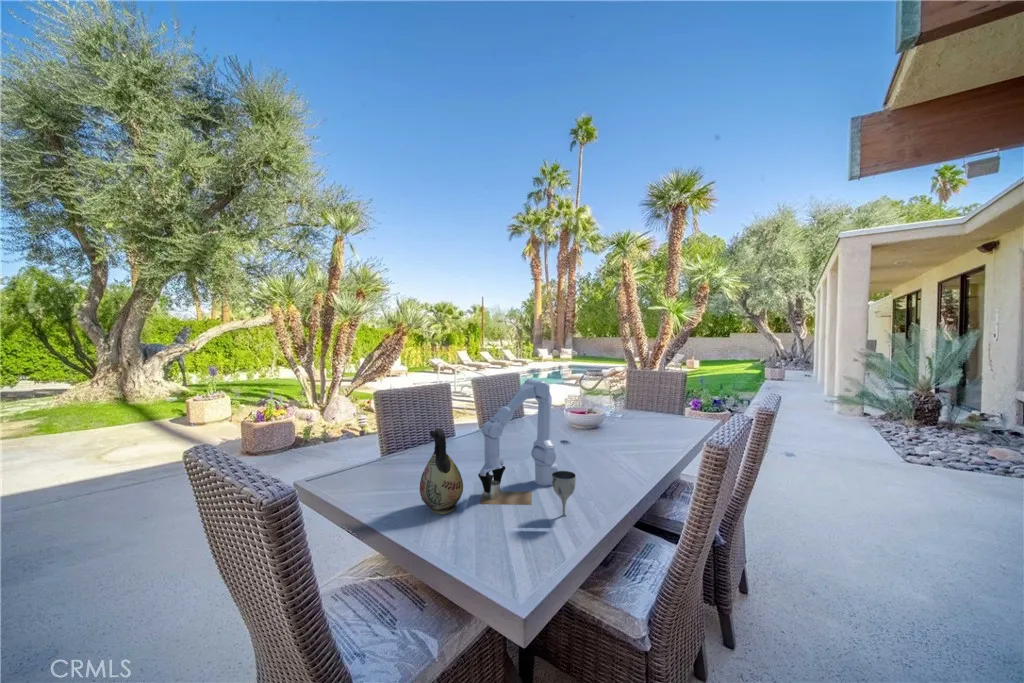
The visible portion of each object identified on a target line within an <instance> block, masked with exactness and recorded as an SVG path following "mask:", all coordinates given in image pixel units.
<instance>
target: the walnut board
mask: <svg viewBox="0 0 1024 683" xmlns="http://www.w3.org/2000/svg"><path fill="white" fill-rule="evenodd" d="M532 496H533V492H532V491H526V490H525V491H523V490H522V491H518V490H517V491H514V490H513V491H511V490H509V491H508V490H507V491H506V490H500V497H499V498H496V499H489V498H486V497H485V492H484V490H483V491H482V494H481V497H480V501H479V505H504V506H505V505H508V506H509V505H510V506H513V505H514V506H516V505H519V506H532V504H533V503H532V502H533V497H532Z"/></svg>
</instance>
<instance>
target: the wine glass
mask: <svg viewBox="0 0 1024 683" xmlns="http://www.w3.org/2000/svg"><path fill="white" fill-rule="evenodd" d="M576 479H577V477H576V473H575V472H573V471H569V470H557V471H556V472H553V473H552V484H553V485H552V487H553V491H554V493H555V495H557V496H558V498H559V500H560V501H561V505H562V514H561V517H564V518H565V517H567V514H566V504H567V501H568V499H569V498H570V497H571V496H572V495H573V494H574V491H575V488H576V482H577V480H576Z"/></svg>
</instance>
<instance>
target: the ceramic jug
mask: <svg viewBox="0 0 1024 683" xmlns="http://www.w3.org/2000/svg"><path fill="white" fill-rule="evenodd" d="M429 434H430V437H431V438H432V439H433V441H434V451H433V453H432V456H431V457H430V459H429V460H428V462H427V464H426V465H425V467H424V470H423V472H422V474H421V476H420V481H419V494H420V497H421V501H422V502H423V503H424V504H425V505H427V507H428V508H429V511H430V510H431V511H430V512H431V513H432V512H433V514H436V515H446V514H449V513H451V512H453V511H455V510H456V507H457V503H458V502H459V501H460V499H461V497H462V494H463V491H464V481H463V477H462V474H461V472H460V470H459V467H458V466H457V465H456V463H455V461H454V460H453V459H452V457H450V455H449V454H448V453H447V440H446V432H445V431H444V430H443V428H439V427H438V428H436V429H435V430H430V432H429Z"/></svg>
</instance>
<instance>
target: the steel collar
mask: <svg viewBox="0 0 1024 683" xmlns="http://www.w3.org/2000/svg"><path fill="white" fill-rule="evenodd" d="M500 489H501V483H500V482H499V481H497V480H494V479H492V482H491V491H490V493H486V492H485V497H486V498H489V499H496V498H499V497H500V491H501V490H500Z"/></svg>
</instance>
